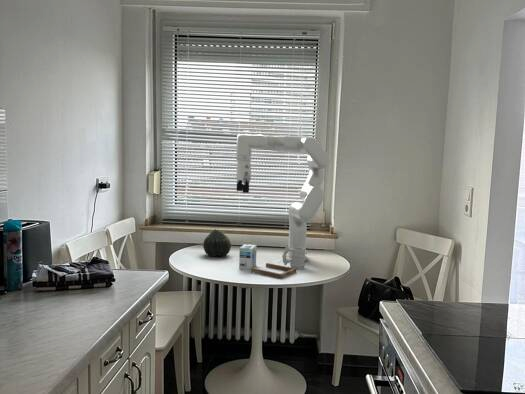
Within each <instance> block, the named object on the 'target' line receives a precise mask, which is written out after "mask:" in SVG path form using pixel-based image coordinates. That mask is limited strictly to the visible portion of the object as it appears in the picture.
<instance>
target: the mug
mask: <svg viewBox="0 0 525 394" xmlns="http://www.w3.org/2000/svg"><path fill="white" fill-rule="evenodd" d="M288 245H289V244H288V243H286V244H285V248H284V252H283V253H282V257H281V258H282V263H283V266H287V265H288V264H289V265H290V268H295V269H297V270H304V269H305V267H306V262H305V261H304V257H305V256H306V254H305V250H304V248H292V249H289V246H288ZM289 251H291V252H292V253H291V259H289V260H287V259H286V256H287V255H288V252H289Z"/></svg>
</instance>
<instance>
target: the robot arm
mask: <svg viewBox="0 0 525 394" xmlns="http://www.w3.org/2000/svg"><path fill="white" fill-rule="evenodd" d="M252 150H261V151H262V150H263V151H273V152H281V153H291V154H292V153H293V154H307V155H308V156H307V159H306V164H307V166H308V169H309V173H308V175H307V179H306V181H305V182H304V184H303V185H302V188H301V190H300V191H299V198H300V200H302V202H300V201H295V202H293V203H291V204H290V206H289V207H288V221H289V222H288V226H289V228H288V244H287V245H288V246H289V249H292V248H304V250H305V257H304V262H307V261H309V257H308V256H307V254H309V251H308V250H306V249H307V246H306V245H307V230H308V228H307V223H309V222H311V221H312V220H313V219H314V218H315V217H316V214H317V212H318V211H319V209H320V207H321V205H322V203H323V201H324V196H325V193H324V190H323V189H322V188H321V187H322V184H323V183H324V180H325V169H327V168H328V167H329V166H330V164H331V158H330V155H329V154H328V153H327V151H326V150H325V149H324V148H323V147H322V145H320V143H319V141H317V140H316V139H314V138H313V137H311V136H310V137H308V136H307V137H305V136H304V137H301V136H290V135H289V136H288V135H275V136H273V135H271V136H269V135H264V134H247V133H245V134H243V133H241V134H237V136H236V159H235V161H236V162H237V164H236V165H237V166H236V192H242V193H244V194H245V193H246V194H247V193H248V194H249V192H250V181H251V180H252V164H251V162H252ZM291 253H292V252H291V251H289V252H288V253H287V254H286V259H287V260H289V259H291Z"/></svg>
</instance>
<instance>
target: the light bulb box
mask: <svg viewBox="0 0 525 394" xmlns="http://www.w3.org/2000/svg"><path fill="white" fill-rule="evenodd" d="M257 247H258V246H257V244H248V243H244V244H243V245H241V246H240V247H239V259H238V261H239V262H238V269H239V270H248V271H251V268H255V267H257Z"/></svg>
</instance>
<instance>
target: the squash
mask: <svg viewBox="0 0 525 394" xmlns="http://www.w3.org/2000/svg"><path fill="white" fill-rule="evenodd" d="M202 246H203V250H204V252H205V254H207V256H209V257H216V256H219V257H221V258H224V257H226V256H227V255H228V254H229V253H230V251H231V247H232V243H231V241H230V238H229V237H228V236H227V235H226V234H224V233H223V232H221V231H220V230H219V229H215V228H214V230H212V231H211V232H210V233H209V234H208V235H207V236H206V237H205V239H204V240H203V244H202Z"/></svg>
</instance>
